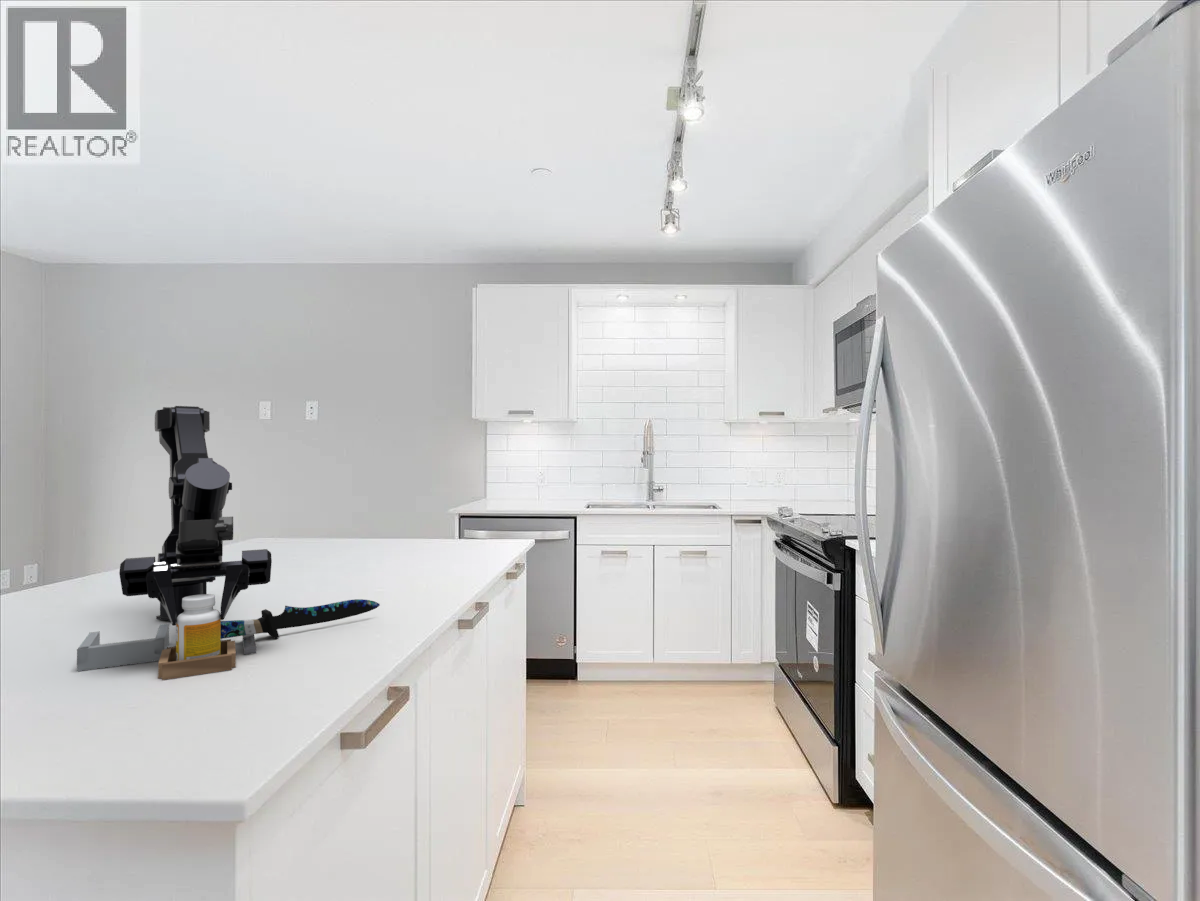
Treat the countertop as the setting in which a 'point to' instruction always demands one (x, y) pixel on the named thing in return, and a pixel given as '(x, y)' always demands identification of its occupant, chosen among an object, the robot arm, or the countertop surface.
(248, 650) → the bar
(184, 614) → the supplement bottle
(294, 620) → the knife
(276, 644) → the countertop surface
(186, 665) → the socket collar
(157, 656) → the tray
